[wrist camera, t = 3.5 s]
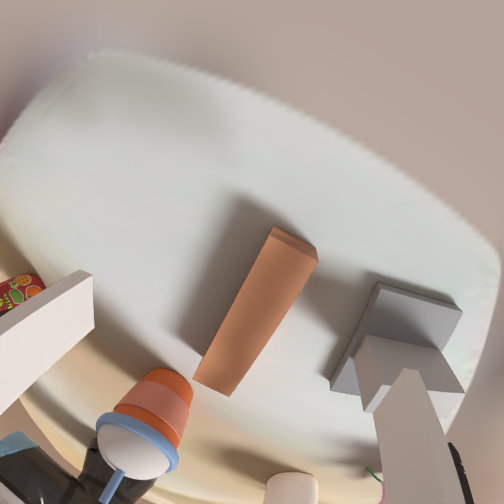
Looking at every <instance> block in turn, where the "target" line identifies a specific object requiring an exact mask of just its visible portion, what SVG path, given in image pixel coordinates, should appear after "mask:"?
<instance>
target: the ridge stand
mask: <svg viewBox="0 0 504 504" xmlns="http://www.w3.org/2000/svg"><path fill="white" fill-rule="evenodd" d="M462 314H463V312H462V311H461V309H460V308H459V307H458V306H456V305H453V304H449V303H446V302H443V301H439V300H436V299H433V298H429V297H426V296H422V295H419V294H416V293H412V292H409V291H405V290H402V289H399V288H395V287H392V286H388V285H385V284H382V283H378V282H377V283H376V285H375V288H374V290H373V293H372V295H371V297H370V300H369V302H368V304H367V307H366V309H365V311H364V313H363V316H362V318H361V320H360V322H359V324H358V326H357V329H356V331H355V333H354V335H353V337H352V339H351V341H350V343H349V345H348V347H347V349H346V351H345V353H344V355H343V357H342V359H341V361H340V363H339V365H338V367H337V368H336V370H335V372H334V374H333V376H332V378H331V379H330V381H329V382H330V391H335V392H340V393H346V394H351V395H357V396H361V400H362V405H363V411H364V412H370V413H373V412H374V410H375V409H376V408H377V406H378V405H379V404H380V402H381V401H382V400H383V398H384V397H385V395H386V394H387V392H388V391H389V390H390V388H391V387H392V385H393V384H394V382H395V381H396V379H397V378H398V376H399V375H400V373H401V371H402V370H403V368H406V369H412V370H418V371H419V374H420V376H421V378H422V380H423V383H424V385H425V387H426V390H427V392H428V394H429V397H430V399H431V401H432V404H433V406H434V409H435V411H436V414H437V416H438V418H447V417H448V415H449V414H450V413H451V412H452V411H453V409H454V408H455V407H456V406H457V404H458V403H459V402H460V400H461V399H462V398H463V396H464V395H465V392H464V390H463V388H462V386H461V385H460V383H459V381H458V379H457V378H456V376H455V374H454V373H453V371H452V369H451V368H450V366H449V364H448V363H447V361H446V359H445V358H444V356H443V355H442V353H441V352H442V351H443V349H444V347H445V346H446V344H447V342H448V340H449V338H450V337H451V335H452V333H453V331H454V329H455V327H456V326H457V324H458V322H459V320H460V318H461V316H462Z"/></svg>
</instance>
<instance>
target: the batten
mask: <svg viewBox="0 0 504 504" xmlns="http://www.w3.org/2000/svg"><path fill="white" fill-rule="evenodd" d="M318 262H319V261H318V256H317V252H316V248H315V247H314V246H312V245H310V244H308V243H306V242H304V241H302V240H301V239H299V238H297V237H295V236H293V235H291V234H289V233H287V232H286V231H284V230H282V229H280V228H278V227H276V226H273V227H272V229H271V231H270V233H269V235H268V237H267V239H266V241H265V243H264V244H263V246H262V248H261V250H260V252H259V254H258V256H257V258H256V259H255V261H254V263H253V265H252V267H251V269H250V271H249V273H248V275H247V276H246V278H245V280H244V282H243V284H242V286H241V288H240V290H239V291H238V293H237V295H236V297H235V299H234V301H233V303H232V304H231V306H230V308H229V310H228V312H227V314H226V316H225V318H224V319H223V321H222V323H221V325H220V327H219V329H218V331H217V332H216V334H215V336H214V338H213V340H212V342H211V344H210V345H209V347H208V349H207V351H206V353H205V355H204V357H203V358H202V360H201V362H200V364H199V366H198V368H197V370H196V372H195V374H194V376H193V378H192V379H193V380H195V381H197V382H199V383H201V384H203V385H205V386H207V387H209V388H211V389H213V390H215V391H217V392H219V393H222V394H224V395H226V396H228V397H229V396H230V395H231V394H232V392H233V391H234V389H235V388H236V387H237V385H238V384H239V382H240V381H241V380H242V378H243V377H244V375H245V374H246V373H247V371H248V370H249V368H250V367H251V365H252V364H253V363H254V361H255V360H256V358H257V357H258V355H259V354H260V352H261V351H262V349H263V348H264V346H265V345H266V343H267V342H268V340H269V339H270V338H271V336H272V334H273V333H274V331H275V330H276V328H277V327H278V325H279V324H280V322H281V321H282V319H283V318H284V316H285V315H286V313H287V312H288V310H289V308H290V307H291V305H292V304H293V302H294V301H295V299H296V297H297V296H298V294H299V293H300V291H301V289H302V288H303V286H304V285H305V283H306V281H307V280H308V278H309V276H310V275H311V273H312V271H313V270H314V268H315V267H316V265H317V263H318Z"/></svg>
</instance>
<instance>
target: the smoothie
mask: <svg viewBox="0 0 504 504" xmlns="http://www.w3.org/2000/svg"><path fill="white" fill-rule="evenodd" d="M45 289H46V288H45V286H44V284H43V283H42V282H41V280H40V279H39V278H38V277H37V276H35V275H28V274H21V275H18V276H16V277H13V278H11V279H9V280H6V281H4V282H1V283H0V311H3V310H7V309H10V308H13V309H14V308H15V307H17V306H18V305H20V304H22V303H23V302H25V301H27V300H28V299H30V298H31V297H33V296H35V295H36V294H38V293H40V292H41V291H43V290H45Z"/></svg>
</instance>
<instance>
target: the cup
mask: <svg viewBox="0 0 504 504" xmlns="http://www.w3.org/2000/svg"><path fill="white" fill-rule="evenodd" d="M317 492H318V484H317V480H316V479H315V478H314V477H313V476H311V475H309V474H306V473H301V472H284V473H279V474H276V475H273V476H272V477H270V478H269V480H268V481H267V484H266V490H265V495H264V501H263V504H317Z"/></svg>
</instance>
